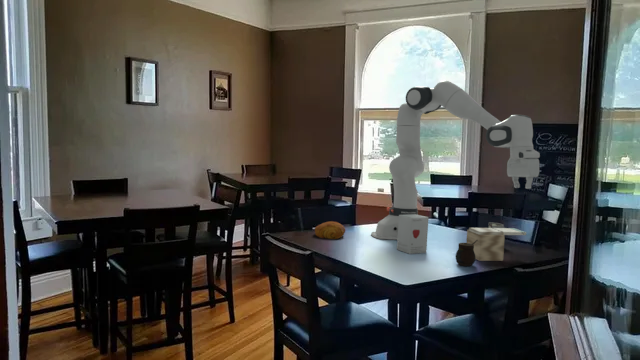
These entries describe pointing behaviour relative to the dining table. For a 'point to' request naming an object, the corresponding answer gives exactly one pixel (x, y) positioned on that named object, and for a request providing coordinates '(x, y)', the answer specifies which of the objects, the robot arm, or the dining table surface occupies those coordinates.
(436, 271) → the dining table surface
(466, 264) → the mate gourd
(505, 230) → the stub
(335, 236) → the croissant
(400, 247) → the supplement box
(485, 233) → the block
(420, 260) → the dining table surface
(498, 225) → the food container
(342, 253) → the dining table surface
